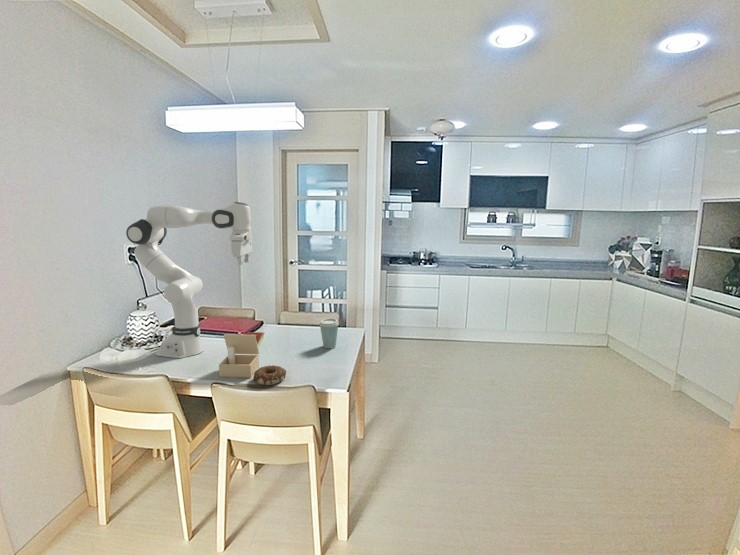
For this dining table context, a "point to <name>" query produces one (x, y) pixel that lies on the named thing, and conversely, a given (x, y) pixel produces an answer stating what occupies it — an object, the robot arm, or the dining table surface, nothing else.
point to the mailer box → (238, 365)
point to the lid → (242, 343)
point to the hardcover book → (257, 336)
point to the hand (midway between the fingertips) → (243, 263)
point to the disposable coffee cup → (329, 332)
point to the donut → (269, 375)
